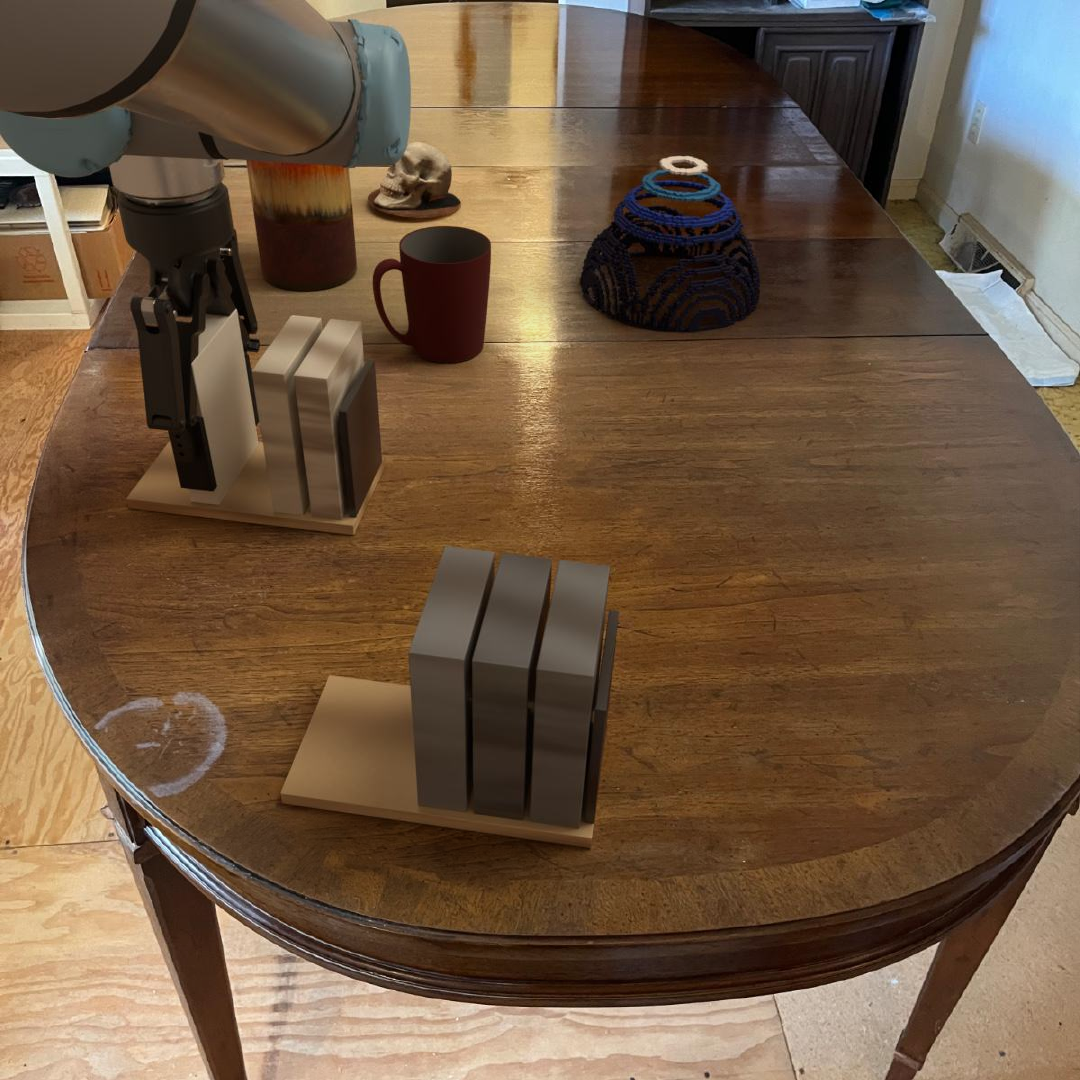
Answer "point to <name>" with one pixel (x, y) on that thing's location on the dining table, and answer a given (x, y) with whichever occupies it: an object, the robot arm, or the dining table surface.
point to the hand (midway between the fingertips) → (221, 453)
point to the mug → (441, 291)
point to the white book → (224, 403)
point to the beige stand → (296, 438)
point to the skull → (417, 185)
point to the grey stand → (477, 708)
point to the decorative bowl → (651, 245)
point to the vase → (303, 224)
